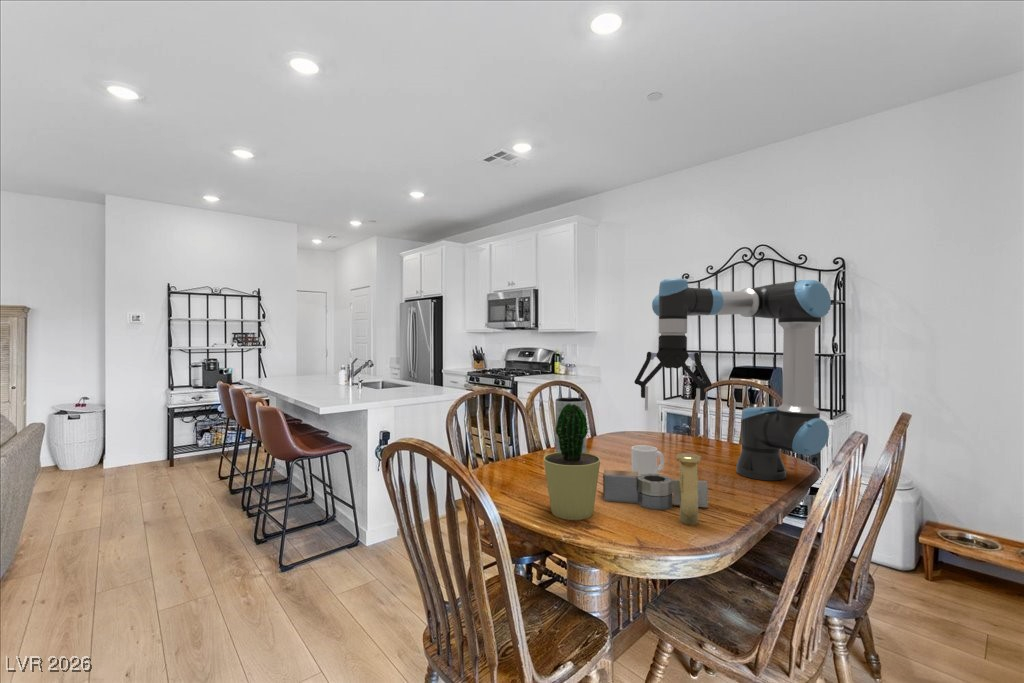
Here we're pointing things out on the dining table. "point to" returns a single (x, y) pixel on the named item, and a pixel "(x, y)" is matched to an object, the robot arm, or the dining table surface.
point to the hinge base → (632, 493)
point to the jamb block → (615, 472)
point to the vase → (559, 405)
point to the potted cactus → (572, 468)
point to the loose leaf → (669, 488)
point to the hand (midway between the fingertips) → (671, 411)
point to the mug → (646, 459)
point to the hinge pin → (688, 488)
